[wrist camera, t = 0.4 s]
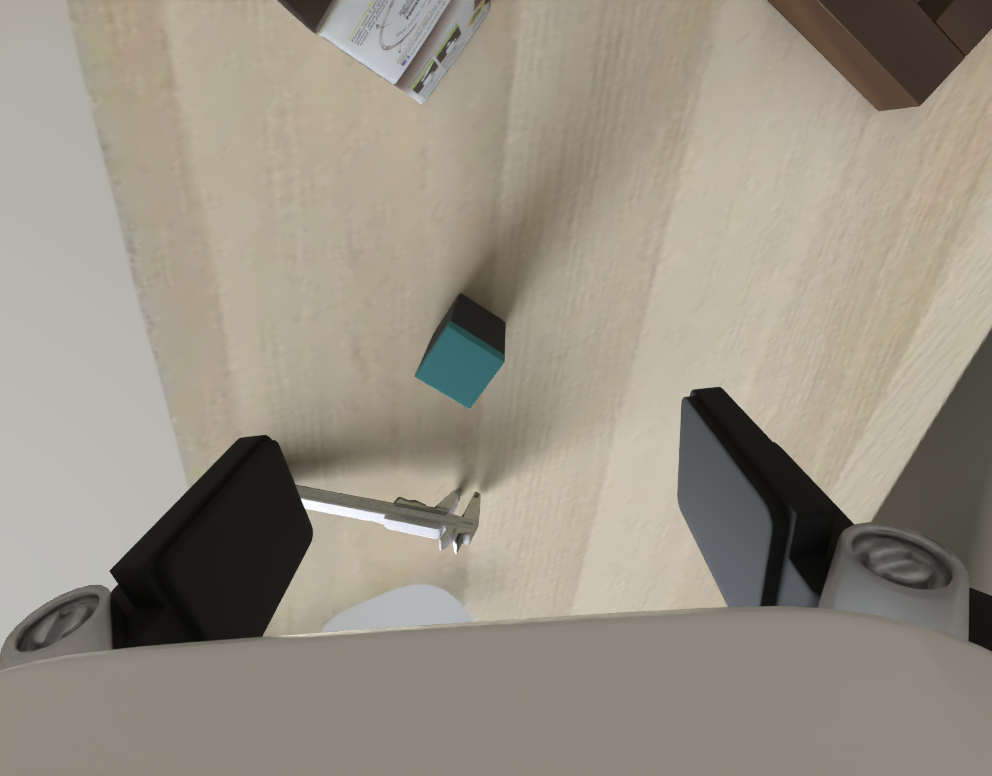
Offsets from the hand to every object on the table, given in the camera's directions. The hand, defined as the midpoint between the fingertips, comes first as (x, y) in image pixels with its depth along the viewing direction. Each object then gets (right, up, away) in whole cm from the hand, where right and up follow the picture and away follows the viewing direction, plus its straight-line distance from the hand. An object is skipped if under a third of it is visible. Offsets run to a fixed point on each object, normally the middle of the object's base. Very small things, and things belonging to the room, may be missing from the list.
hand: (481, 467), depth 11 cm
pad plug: (-2, +6, +22) cm, 23 cm away
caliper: (-11, -7, +29) cm, 32 cm away
